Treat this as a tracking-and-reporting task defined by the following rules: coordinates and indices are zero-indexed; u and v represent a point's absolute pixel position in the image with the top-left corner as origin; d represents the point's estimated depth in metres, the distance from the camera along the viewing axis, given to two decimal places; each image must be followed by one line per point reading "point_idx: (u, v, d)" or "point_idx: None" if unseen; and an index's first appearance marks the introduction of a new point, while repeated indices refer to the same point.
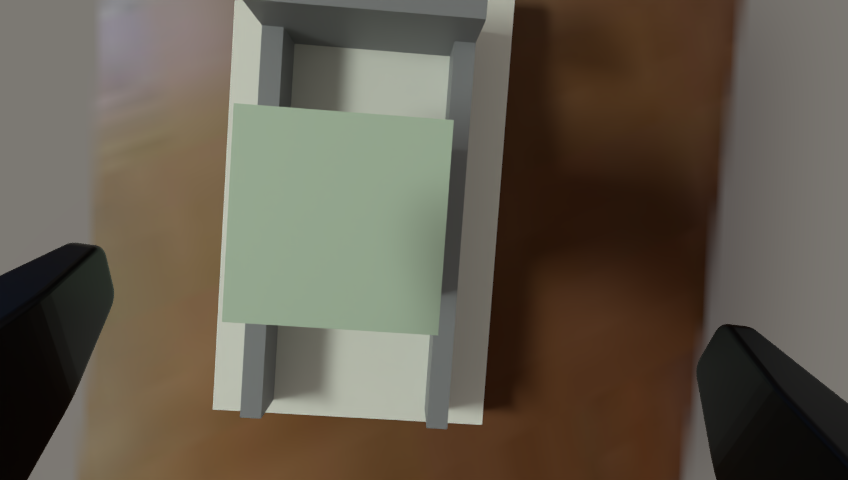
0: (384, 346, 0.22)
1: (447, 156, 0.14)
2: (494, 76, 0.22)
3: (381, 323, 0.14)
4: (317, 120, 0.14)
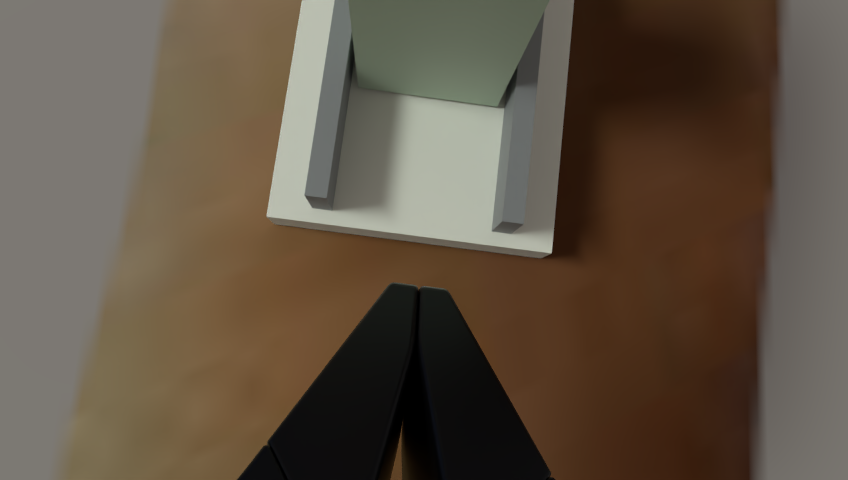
0: (452, 163, 0.21)
1: None
2: None
3: None
4: None
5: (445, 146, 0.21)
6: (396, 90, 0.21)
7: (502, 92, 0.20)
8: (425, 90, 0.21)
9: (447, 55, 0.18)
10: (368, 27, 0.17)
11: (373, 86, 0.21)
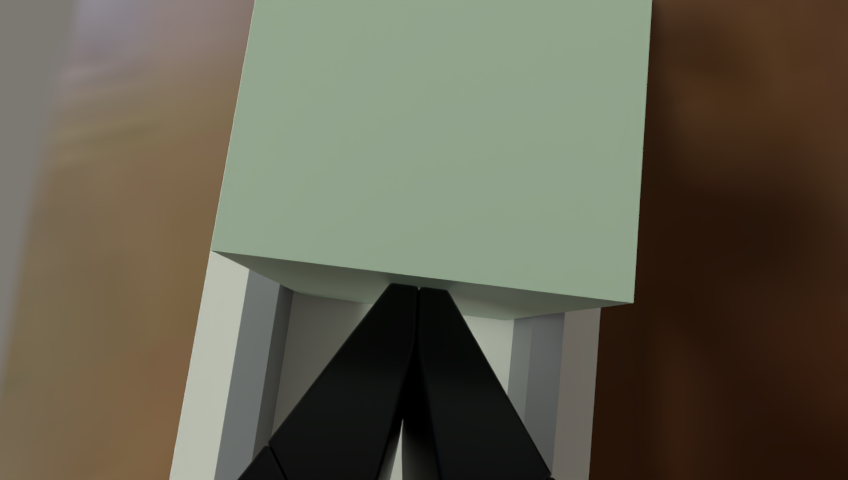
0: None
1: None
2: None
3: (524, 272, 0.07)
4: None
5: None
6: (359, 302, 0.15)
7: (511, 318, 0.14)
8: None
9: None
10: (299, 282, 0.10)
11: (325, 297, 0.15)
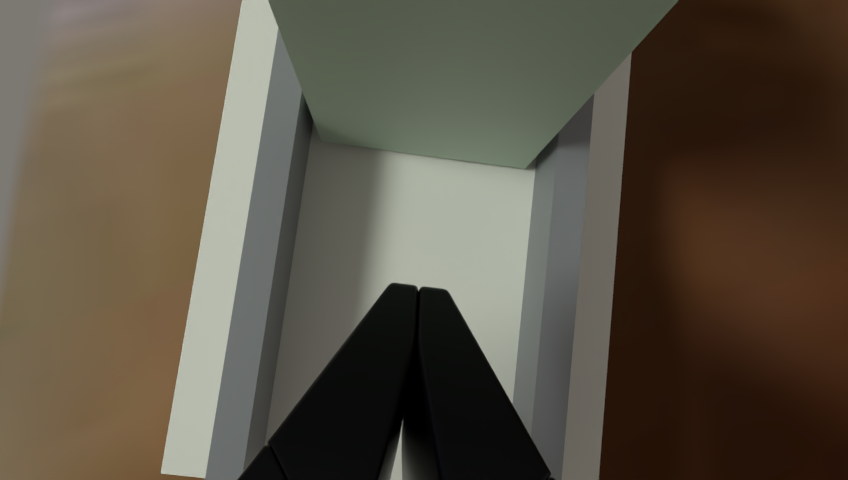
0: None
1: None
2: None
3: None
4: None
5: None
6: (377, 147, 0.14)
7: (534, 154, 0.14)
8: (420, 147, 0.14)
9: (453, 109, 0.11)
10: (322, 68, 0.10)
11: (343, 141, 0.14)
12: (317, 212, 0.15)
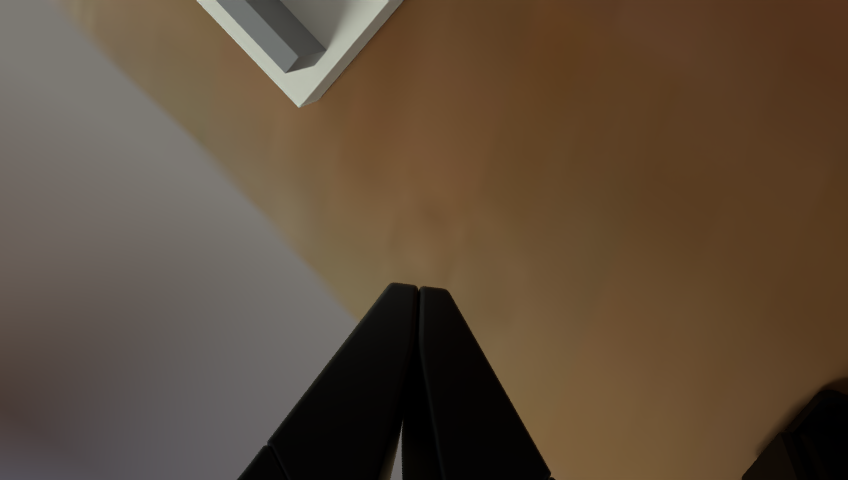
0: None
1: None
2: None
3: None
4: None
5: None
6: None
7: None
8: None
9: None
10: None
11: None
12: None
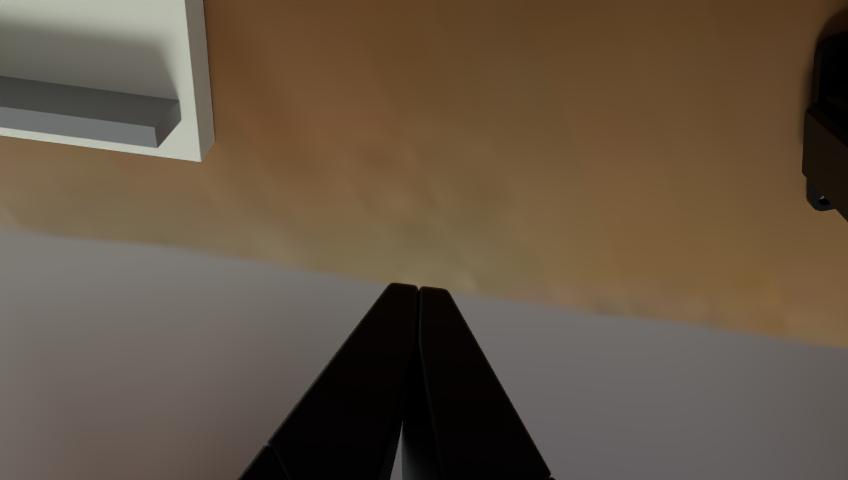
0: None
1: None
2: None
3: None
4: None
5: None
6: None
7: None
8: None
9: None
10: None
11: None
12: None
